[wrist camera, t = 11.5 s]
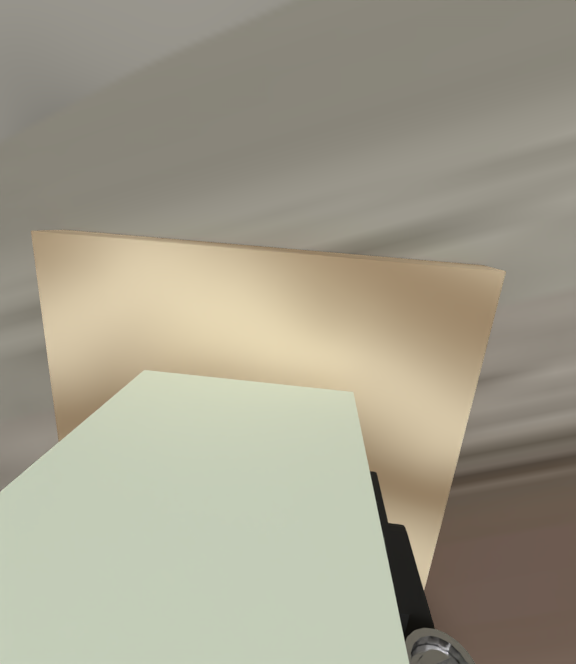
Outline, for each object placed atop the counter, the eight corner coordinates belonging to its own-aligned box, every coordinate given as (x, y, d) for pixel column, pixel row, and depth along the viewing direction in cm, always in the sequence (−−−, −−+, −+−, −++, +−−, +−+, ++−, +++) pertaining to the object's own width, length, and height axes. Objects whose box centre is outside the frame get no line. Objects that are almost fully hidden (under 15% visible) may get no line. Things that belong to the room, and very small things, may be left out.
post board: (406, 587, 16) (480, 894, 9) (97, 546, 16) (-72, 794, 9) (482, 265, 12) (749, 335, 4) (64, 229, 12) (-289, 240, 5)
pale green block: (329, 556, 13) (346, 1040, 5) (151, 533, 13) (-74, 953, 6) (353, 391, 11) (433, 779, 3) (144, 369, 11) (-216, 674, 4)
